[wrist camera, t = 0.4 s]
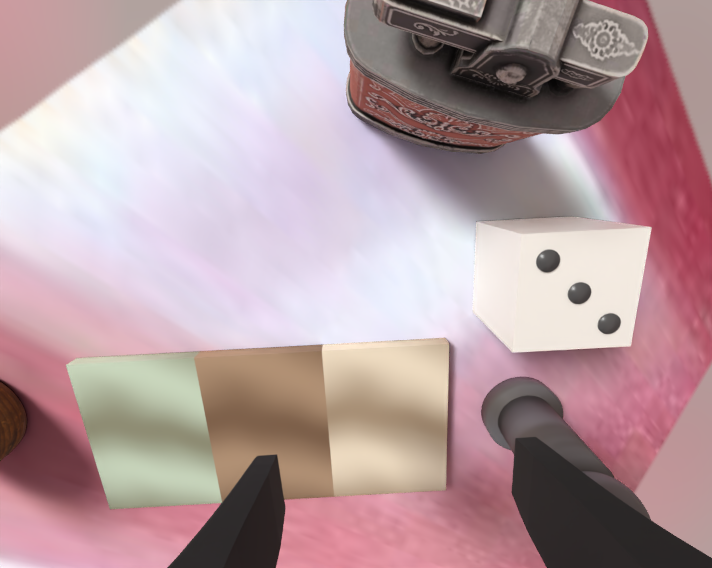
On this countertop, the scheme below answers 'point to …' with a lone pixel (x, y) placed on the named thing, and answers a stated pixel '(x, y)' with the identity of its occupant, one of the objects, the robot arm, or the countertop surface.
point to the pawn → (545, 430)
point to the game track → (267, 420)
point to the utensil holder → (10, 421)
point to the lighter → (486, 67)
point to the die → (559, 281)
